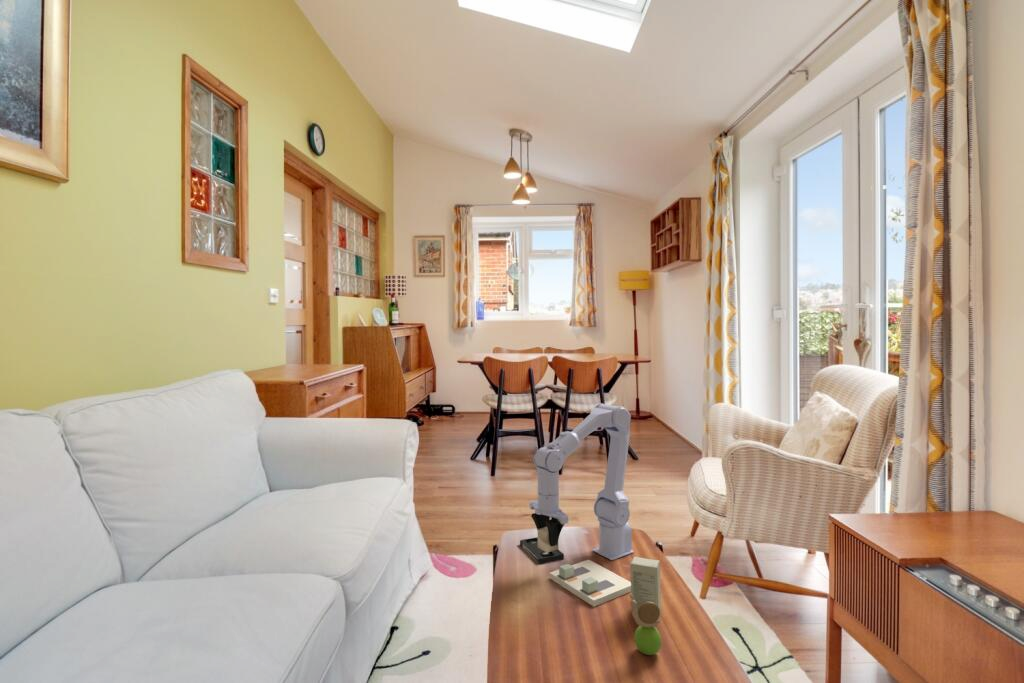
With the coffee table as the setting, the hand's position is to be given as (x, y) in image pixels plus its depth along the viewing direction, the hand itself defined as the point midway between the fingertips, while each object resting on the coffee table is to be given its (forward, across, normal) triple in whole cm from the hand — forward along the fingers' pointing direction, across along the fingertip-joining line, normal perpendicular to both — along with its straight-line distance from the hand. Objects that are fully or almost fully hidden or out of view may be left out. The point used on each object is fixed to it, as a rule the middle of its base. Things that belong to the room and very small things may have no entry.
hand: (548, 542), depth 136 cm
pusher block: (+2, 0, 0) cm, 2 cm away
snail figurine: (+9, +38, -5) cm, 39 cm away
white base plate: (+8, +11, +5) cm, 15 cm away
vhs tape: (+9, -12, +7) cm, 16 cm away
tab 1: (+7, +7, +1) cm, 9 cm away
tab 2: (+7, +15, +1) cm, 17 cm away
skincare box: (+9, +29, +6) cm, 31 cm away
